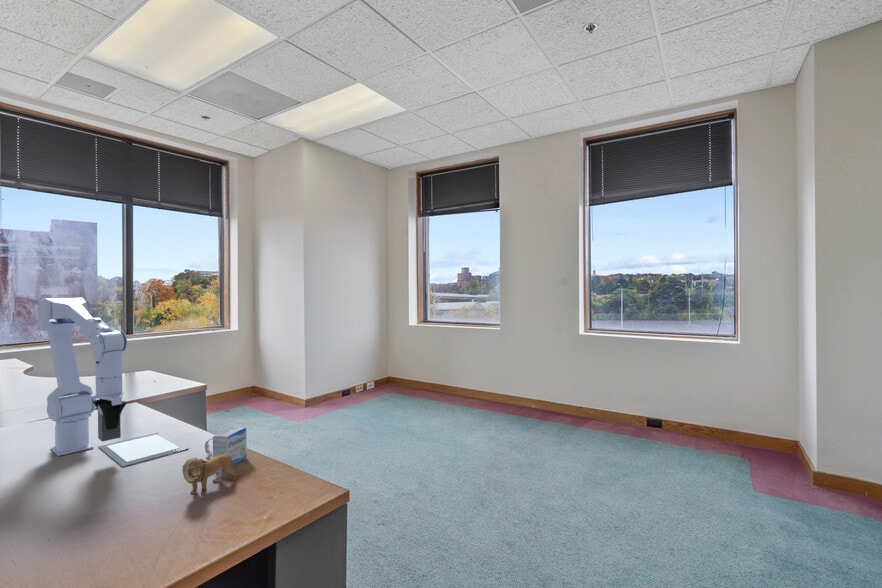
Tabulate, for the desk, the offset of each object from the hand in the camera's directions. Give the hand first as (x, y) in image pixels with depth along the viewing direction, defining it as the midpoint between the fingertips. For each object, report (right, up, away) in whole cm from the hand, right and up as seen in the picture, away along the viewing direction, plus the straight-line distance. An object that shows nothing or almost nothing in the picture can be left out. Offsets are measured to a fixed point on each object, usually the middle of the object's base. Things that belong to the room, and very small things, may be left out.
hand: (109, 426), depth 117 cm
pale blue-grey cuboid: (0, -3, 0) cm, 3 cm away
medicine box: (+33, -10, -1) cm, 34 cm away
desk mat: (+3, -9, +9) cm, 13 cm away
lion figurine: (+35, -10, -15) cm, 40 cm away
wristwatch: (+26, -10, +5) cm, 28 cm away
